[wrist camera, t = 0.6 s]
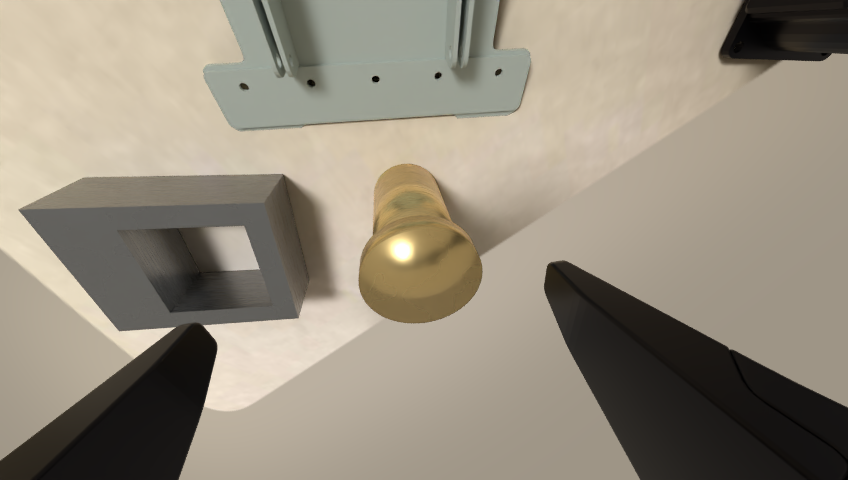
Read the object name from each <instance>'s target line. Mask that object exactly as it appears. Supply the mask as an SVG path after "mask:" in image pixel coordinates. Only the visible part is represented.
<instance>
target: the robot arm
mask: <svg viewBox="0 0 848 480" xmlns="http://www.w3.org/2000/svg"><path fill="white" fill-rule="evenodd" d="M735 45H736V47H735ZM734 47H735V49H734ZM832 53H840V54H848V0H746V2H745V4H744V6H743V8H742V10H741V12H740V14H739V16H738V18H737V20H736V22H735V24H734V26H733V28H732V30H731V32H730V34H729V36H728V38H727V40H726V42H725V44H724V46H723V48H722V56H723V57H725V58H737V59H768V60H798V61H800V60H801V61H823V60H825V59H826V58H828V57H829V56H830V55H831V54H832ZM544 290H545V294H546V296H547V299H548V301H549V304H550V306H551V308H552V311H553V313H554V316H555V318H556V321H557V323H558V325H559V328H560V330H561V332H562V335H563V338H564V340H565V342H566V344H567V346H568V348H569V350H570V352H571V354H572V356H573V358H574V360H575V362H576V363H577V365H578V367H579V369H580V371H581V373H582V374H583V376H584V378H585V380H586V382H587V383H588V385H589V387H590V389H591V391H592V393H593V394H594V396H595V398H596V400H597V402H598V404H599V405H600V407H601V409H602V411H603V413H604V414H605V416H606V418H607V420H608V422H609V423H610V425H611V427H612V429H613V431H614V433H615V435H616V436H617V438H618V440H619V442H620V444H621V445H622V447H623V449H624V451H625V452H626V455H627V456H628V458H629V460H630V462H631V464H632V465H633V467H634V469H635V471H636V473H637V474H638V476H639V478H640V480H848V407H845V406H843V405H841V404H839V403H837V402H835V401H833V400H831V399H829V398H827V397H825V396H823V395H821V394H819V393H817V392H814V391H813V390H810V389H808V388H806V387H804V386H802V385H800V384H798V383H796V382H794V381H792V380H790V379H788V378H786V377H784V376H783V375H780V374H779V373H777V372H775V371H773V370H771V369H769V368H767V367H765V366H763V365H761V364H759V363H757V362H755V361H754V360H751V359H750V358H748V357H746V356H744V355H742V354H740V353H738V352H737V351H734V350H729V348H728V347H727V346H725V345H723V344H721V343H719V342H718V341H716V340H714V339H712V338H710V337H708V336H706V335H704V334H702V333H701V332H699V331H697V330H695V329H693V328H691V327H689V326H688V325H686V324H684V323H682V322H680V321H678V320H676V319H674V318H672V317H671V316H669V315H667V314H665V313H663V312H661V311H659V310H657V309H656V308H654V307H652V306H650V305H648V304H646V303H644V302H642V301H640V300H639V299H637V298H635V297H633V296H631V295H629V294H627V293H626V292H624V291H621V290H620V289H618V288H616V287H614V286H612V285H611V284H609V283H607V282H605V281H603V280H601V279H599V278H597V277H595V276H593V275H592V274H589V273H588V272H586V271H584V270H582V269H580V268H579V267H577V266H575V265H573V264H571V263H569V262H567V261H556V262H551V263H549V264H548V266H547V270H546V277H545V283H544ZM216 354H217V343H216V341H215V339H214V338H213V337H212V336H211V335H210V333H209V332H208V331H207V330H206V329H205V328H204V326H203V325H202V324H200V323H198V322H194V323H188V324H182V325H179V326H177V327H176V328H175V329H173V330H172V331H171V332H169V333H168V334H167V335H165V336H164V337H163V338H161V339H160V340H159V341H157V342H156V343H155V344H154V345H152V346H151V347H150V348H148V349H147V350H146V351H144V352H143V353H142V354H140V355H139V356H138V357H136V358H135V359H134V360H132V361H131V362H130V363H129V364H127V365H126V366H125V367H123V368H122V369H121V370H119V371H118V372H117V373H115V374H114V375H113V376H111V377H110V378H109V379H107V380H106V381H105V382H103V383H102V384H101V385H99V386H98V387H97V388H96V389H94V390H93V391H92V392H90V393H89V394H88V395H86V396H85V397H84V398H82V399H81V400H80V401H79V402H77V403H76V404H75V405H73V406H72V407H70V408H69V409H68V410H67V411H65V412H64V413H63V414H61V415H60V416H59V417H57V418H56V419H55V420H53V421H52V422H51V423H49V424H48V425H47V426H45V427H44V428H43V429H41V430H40V431H39V432H38V433H36V434H35V435H34V436H33V437H31V438H30V439H28V440H27V441H26V442H24V443H23V444H22V445H21V446H19V447H18V448H16V449H15V450H14V451H12V452H11V453H10V454H9V455H7V456H6V457H5V458H3V459H2V460H1V461H0V480H179V477H180V474H181V471H182V468H183V465H184V463H185V460H186V457H187V454H188V451H189V448H190V445H191V442H192V440H193V437H194V434H195V431H196V428H197V425H198V423H199V419H200V416H201V413H202V410H203V407H204V403H205V399H206V395H207V391H208V387H209V383H210V379H211V374H212V370H213V366H214V362H215V358H216Z"/></svg>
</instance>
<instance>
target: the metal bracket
mask: <svg viewBox="0 0 848 480" xmlns="http://www.w3.org/2000/svg"><path fill="white" fill-rule="evenodd" d="M499 1H500V0H220V2H221V4H222V6H223V9H224V11H225V14H226V16H227V18H228V21H229V23H230V25H231V28H232V30H233V32H234V35H235V37H236V39H237V42H238V44H239V46H240V49H241V51H242V53H243V57H244V60H243V61H242V62H240V63H222V64H208V65H206V66H205V67H204V69H203V73H204V79H205V81H206V83H207V85H208V87H209V89H210V90H211V92H212V94H213V96H214V98H215V100H216V101H217V103H218V105H219V107H220V109H221V111H222V112H223V114H224V116H225V118H226V120H227V121H228V123H229V125H230V126H231V127H233V128H235V129H236V130H238V131H254V130H271V129H288V128H302V127H303V126H304V125H307V124H321V123H336V122H351V121H366V120H381V119H396V118H411V117H426V116H441V115H455V116H456V117H457V118H472V117H489V116H506V115H509V114H511V113H513V112H514V111H515V110H516V109H517V108H518V107H519V105H520V102H521V98H522V94H523V90H524V86H525V83H526V79H527V75H528V71H529V67H530V63H531V58H530V53H529V51H528V50H527V49H524V48H522V49H502V50H497V49H494V47H493V39H494V33H495V27H496V20H497V14H498V8H499ZM497 69H502V72H501V74H499V75H495V72H496V70H497ZM437 72H440V73H441V74H442V75H441V77H440V78H439V79H436V78H435V77H434V76H435V74H436V73H437ZM373 76H378V77H379V79H380V80H379V81H378V82H373V81H372V77H373ZM309 79H311V80H313V81H314V82H315V85H314V86H310V85H309V84H308V82H307V80H309ZM241 83H245V84H246V85H247V86H248V87H249V89H248V90H245V89H243V88H242V87H241V85H240V84H241Z"/></svg>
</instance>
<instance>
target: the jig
mask: <svg viewBox="0 0 848 480" xmlns="http://www.w3.org/2000/svg"><path fill="white" fill-rule="evenodd" d="M19 211H20V212H21V214H22V215H23V216H24V217H25V218H26V220H27V221H28V222H29V223H30V224H31V226H32V227H33V228H34V229H35V230H36V232H37V233H38V234H39V235H40V237H41V238H42V239H43V240H44V241H45V243H46V244H47V245H48V246H49V247H50V249H51V250H52V251H53V252H54V253H55V255H56V256H57V257H58V258H59V259H60V261H61V262H62V263H63V264H64V265H65V267H66V268H67V269H68V270H69V271H70V273H71V274H72V275H73V276H74V277H75V279H76V280H77V281H78V282H79V283H80V285H81V286H82V287H83V288H84V290H85V291H86V292H87V293H88V294H89V296H90V297H91V298H92V299H93V300H94V302H95V303H96V304H97V305H98V306H99V308H100V309H101V310H102V311H103V312H104V314H105V315H106V316H107V317H108V318H109V320H110V321H111V322H112V323H113V324H114V326H115V327H116V328H117V329H118V330H119V331H129V330H143V329H156V328H170V327H177V326H179V325H182V324H188V323H194V322H198V323H200V324H202V325H211V324H225V323H239V322H253V321H266V320H280V319H294V318H299V315H300V311H301V308H302V304H303V300H304V297H305V293H306V290H307V286H308V283H309V277H308V273H307V269H306V265H305V261H304V257H303V253H302V249H301V245H300V241H299V237H298V233H297V229H296V225H295V221H294V217H293V213H292V209H291V204H290V200H289V196H288V192H287V188H286V184H285V180H284V176H283V174H271V175H212V176H154V177H95V178H82V179H80V180H78V181H76V182H74V183H72V184H70V185H68V186H66V187H64V188H62V189H60V190H57V191H55V192H53V193H51V194H49V195H47V196H45V197H43V198H41V199H39V200H37V201H35V202H33V203H31V204H29V205H27V206H25V207H23V208H21V209H19ZM219 226H245V229H246V231H247V234H248V237H249V240H250V243H251V245H252V248H253V251H254V254H255V256H256V259H257V262H258V265H259V268H260V270H246V271H227V272H208V273H200V272H199V270H198V268H197V266H196V264H195V262H194V260H193V258H192V256H191V254H190V252H189V250H188V249H187V247H186V245H185V243H184V241H183V239H182V237H181V235H180V233H179V231H178V229H177V228H191V227H219Z"/></svg>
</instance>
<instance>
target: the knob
mask: <svg viewBox="0 0 848 480" xmlns="http://www.w3.org/2000/svg"><path fill="white" fill-rule="evenodd" d="M481 279H482V264H481V260H480V258H479V255H478V253H477V251H476V249H475V246H474V244H473V242H472V240H471V238H470V237H469V235H468V234H467V233H466V232H465V231H464V230H463V229H462V228H461V227H460V226H458V225H457V224H455V223H453V222H452V221H451V218H450V216H449V213H448V211H447V208H446V206H445V203H444V201H443V198H442V195H441V193H440V190H439V188H438V185H437V183H436V181H435V179H434V177H433V176H432V175H431V173H429V172H428V171H427V170H426V169H424V168H422V167H420V166H417V165H413V164H401V165H397V166H394V167H392V168H390V169H388V170H387V171H385V172H384V173H383V174H382V175H381V176H380V178H379V179H378V181H377V183H376V186H375V190H374V215H373V236H372V237H371V238H370V239H369V241H368V242H367V244H366V245H365V247H364V249H363V252H362V255H361V259H360V269H359V288H360V292H361V295H362V297H363V299H364V300H365V302H366V303H367V304H368V306H369V307H370V308H371V309H373V310H374V311H375V312H376V313H378V314H379V315H381V316H383V317H385V318H388V319H390V320H394V321H397V322H403V323H425V322H431V321H435V320H438V319H442V318H444V317H446V316H449V315H451V314H453V313H455V312H456V311H458V310H459V309H461V308H462V307H463V306H465V305H466V304H467V303H468V302H469V301H470V300H471V299H472V297H473V296H474V295H475V293H476V292H477V290H478V288H479V285H480V283H481Z"/></svg>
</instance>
